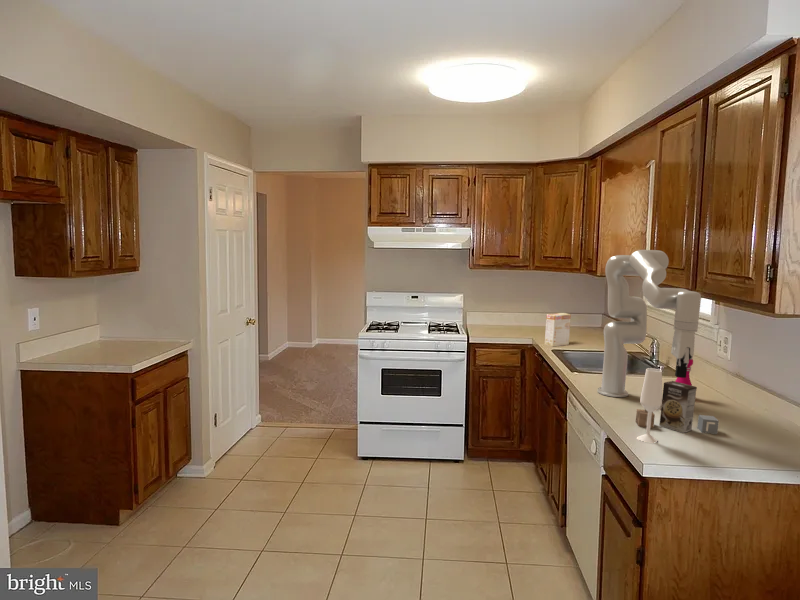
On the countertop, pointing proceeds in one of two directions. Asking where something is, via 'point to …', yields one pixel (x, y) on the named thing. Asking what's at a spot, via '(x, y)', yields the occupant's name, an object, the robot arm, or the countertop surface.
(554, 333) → the coffeecake box
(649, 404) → the champagne flute
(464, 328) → the countertop surface
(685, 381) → the pepper mill
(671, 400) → the coffee box
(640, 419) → the walnut block one
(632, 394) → the countertop surface
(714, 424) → the slate block seven
